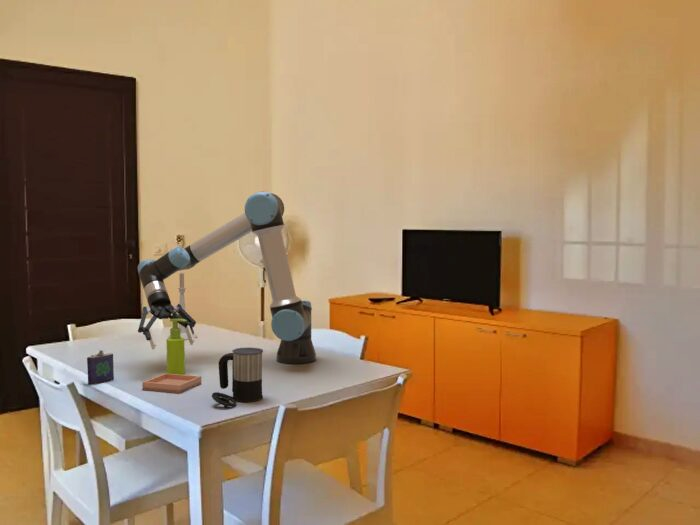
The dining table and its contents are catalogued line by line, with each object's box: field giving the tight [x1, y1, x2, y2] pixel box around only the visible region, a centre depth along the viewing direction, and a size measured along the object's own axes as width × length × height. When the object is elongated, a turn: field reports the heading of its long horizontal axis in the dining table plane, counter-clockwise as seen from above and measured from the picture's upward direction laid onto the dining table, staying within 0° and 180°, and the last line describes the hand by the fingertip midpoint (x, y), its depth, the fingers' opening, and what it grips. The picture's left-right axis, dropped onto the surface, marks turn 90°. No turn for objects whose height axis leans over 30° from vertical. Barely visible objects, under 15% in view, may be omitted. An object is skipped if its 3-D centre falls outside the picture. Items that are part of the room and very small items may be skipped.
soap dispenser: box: [166, 319, 187, 375], centre depth 221 cm, size 6×7×20 cm
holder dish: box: [142, 372, 202, 394], centre depth 208 cm, size 14×13×2 cm
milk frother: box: [211, 347, 264, 408], centre depth 191 cm, size 14×16×15 cm
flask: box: [86, 349, 115, 386], centre depth 214 cm, size 9×3×11 cm, turn 144°
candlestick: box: [167, 272, 198, 341], centre depth 294 cm, size 13×13×30 cm
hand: (173, 344), depth 222 cm, fingers open, 13 cm apart
